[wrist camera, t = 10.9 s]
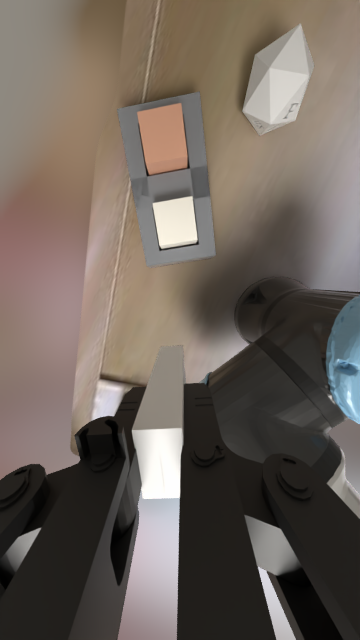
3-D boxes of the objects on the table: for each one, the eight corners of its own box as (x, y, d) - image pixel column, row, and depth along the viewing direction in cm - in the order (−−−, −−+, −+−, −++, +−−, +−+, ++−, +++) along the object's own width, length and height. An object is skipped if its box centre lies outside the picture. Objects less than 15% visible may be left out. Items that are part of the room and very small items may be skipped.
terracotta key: (181, 133, 28) (181, 102, 23) (186, 176, 29) (187, 156, 24) (144, 140, 28) (137, 111, 23) (151, 182, 29) (145, 164, 25)
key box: (197, 120, 29) (199, 91, 24) (211, 258, 34) (215, 255, 29) (126, 134, 29) (117, 108, 25) (151, 267, 34) (146, 266, 30)
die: (229, 141, 30) (276, 130, 23) (232, 54, 24) (297, 5, 17) (265, 135, 32) (317, 123, 25) (276, 53, 26) (348, 9, 19)
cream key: (190, 209, 30) (192, 195, 25) (195, 245, 32) (197, 239, 27) (157, 215, 31) (152, 203, 26) (163, 250, 32) (159, 245, 27)
